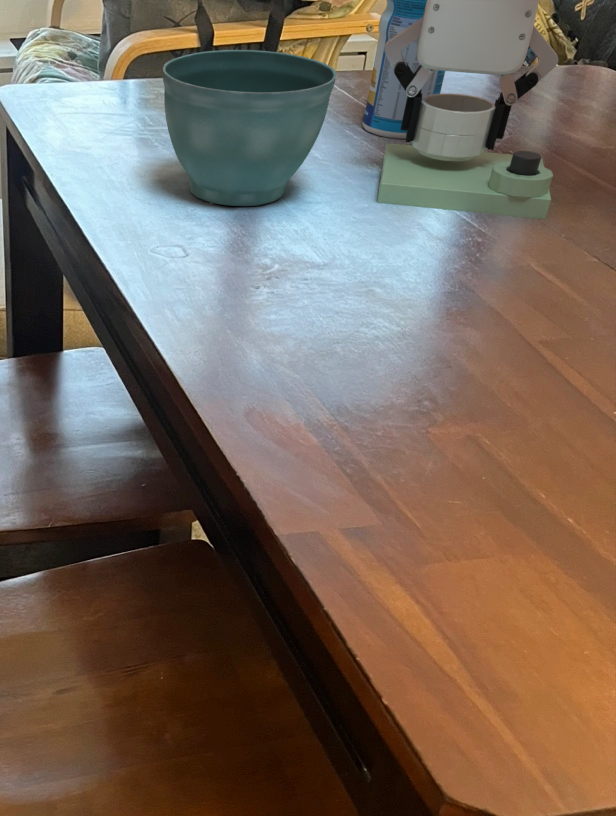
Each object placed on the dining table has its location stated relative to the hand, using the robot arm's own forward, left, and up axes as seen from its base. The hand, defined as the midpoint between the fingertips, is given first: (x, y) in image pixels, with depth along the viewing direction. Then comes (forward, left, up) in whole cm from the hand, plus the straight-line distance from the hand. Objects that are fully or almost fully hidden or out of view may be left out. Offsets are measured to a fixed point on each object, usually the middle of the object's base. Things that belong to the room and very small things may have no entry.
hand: (449, 141), depth 106 cm
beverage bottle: (+5, -18, -4) cm, 19 cm away
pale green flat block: (-2, +2, -4) cm, 5 cm away
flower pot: (+20, +10, -4) cm, 23 cm away
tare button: (-7, +7, -1) cm, 10 cm away
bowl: (0, 0, -1) cm, 1 cm away
